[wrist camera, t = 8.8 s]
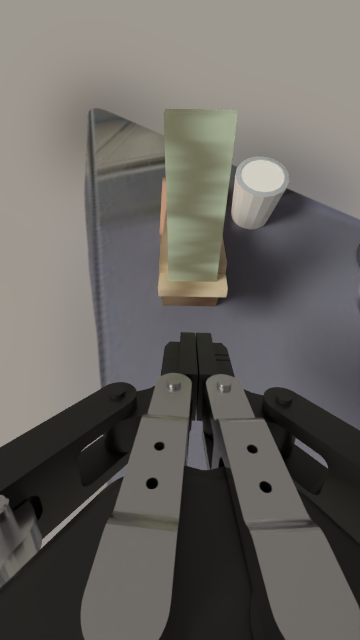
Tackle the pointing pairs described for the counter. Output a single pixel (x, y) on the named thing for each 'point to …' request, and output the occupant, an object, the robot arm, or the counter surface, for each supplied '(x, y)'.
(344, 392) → the counter surface
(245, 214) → the white cylinder
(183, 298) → the fulcrum
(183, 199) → the ramp
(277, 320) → the counter surface
